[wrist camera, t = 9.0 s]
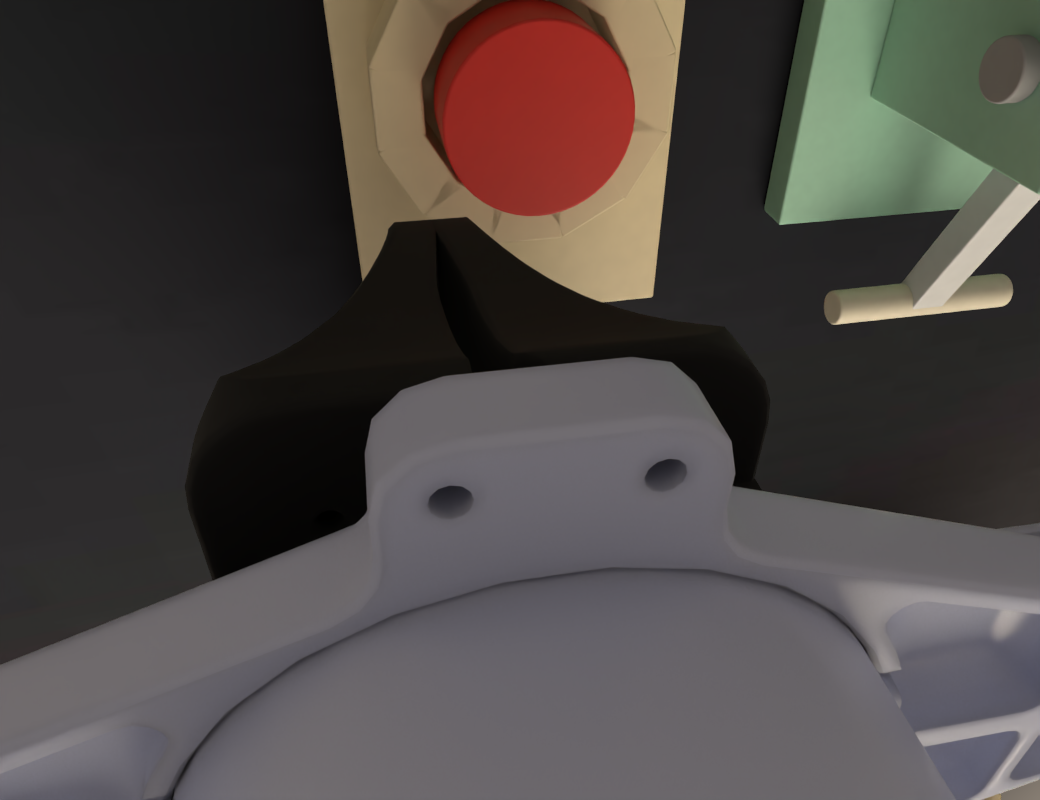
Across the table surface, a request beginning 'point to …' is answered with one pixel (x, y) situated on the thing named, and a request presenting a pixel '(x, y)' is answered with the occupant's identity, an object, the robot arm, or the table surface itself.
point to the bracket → (906, 107)
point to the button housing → (426, 168)
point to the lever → (947, 263)
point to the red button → (533, 107)
